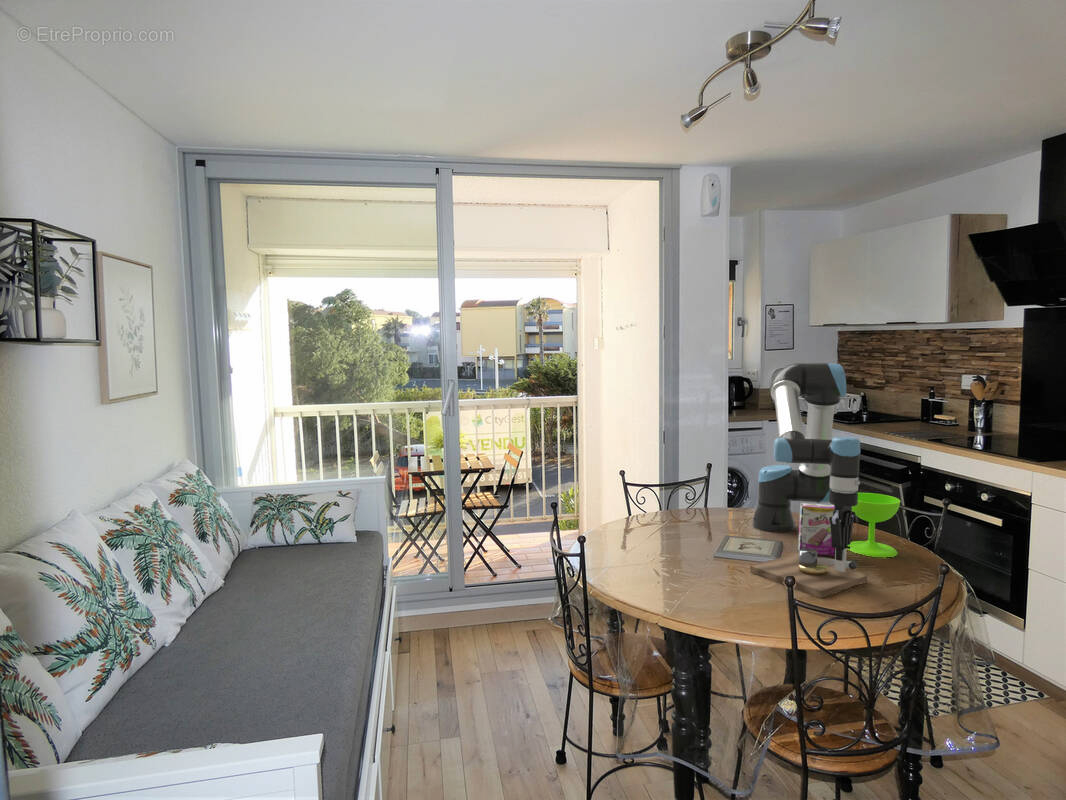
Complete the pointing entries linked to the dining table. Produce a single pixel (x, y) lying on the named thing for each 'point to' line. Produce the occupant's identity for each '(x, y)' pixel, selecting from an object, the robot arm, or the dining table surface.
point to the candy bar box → (816, 528)
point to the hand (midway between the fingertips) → (840, 570)
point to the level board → (808, 576)
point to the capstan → (817, 562)
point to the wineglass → (874, 511)
